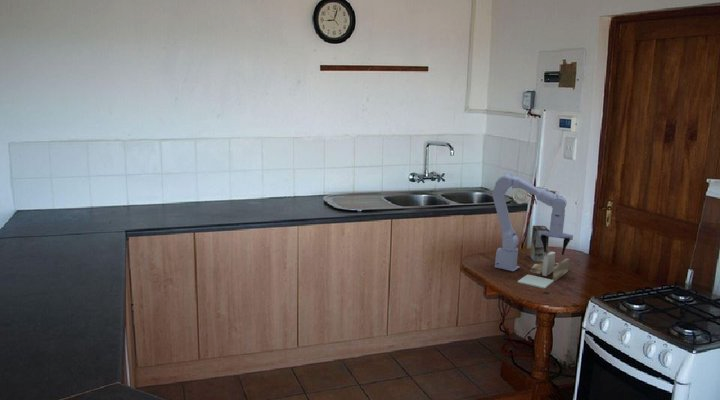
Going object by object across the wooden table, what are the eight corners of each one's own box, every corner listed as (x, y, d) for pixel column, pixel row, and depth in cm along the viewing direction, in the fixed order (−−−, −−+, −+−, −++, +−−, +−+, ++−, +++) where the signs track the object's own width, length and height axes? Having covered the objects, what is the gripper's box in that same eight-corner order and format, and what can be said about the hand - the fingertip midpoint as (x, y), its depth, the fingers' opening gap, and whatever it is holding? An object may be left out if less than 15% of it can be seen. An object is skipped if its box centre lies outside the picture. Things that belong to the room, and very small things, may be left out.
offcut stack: (529, 272, 278) (529, 267, 277) (535, 268, 284) (535, 263, 284) (539, 274, 275) (540, 269, 274) (545, 270, 282) (545, 265, 281)
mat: (517, 282, 262) (517, 281, 262) (527, 275, 272) (527, 274, 272) (544, 288, 256) (544, 287, 256) (553, 281, 265) (553, 280, 265)
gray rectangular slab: (542, 275, 273) (543, 256, 271) (549, 270, 281) (551, 251, 279) (546, 276, 272) (548, 257, 270) (553, 270, 280) (555, 252, 278)
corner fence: (523, 274, 274) (525, 261, 273) (538, 264, 289) (539, 252, 288) (555, 281, 266) (557, 268, 265) (568, 270, 281) (570, 258, 280)
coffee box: (547, 262, 293) (550, 230, 289) (533, 261, 293) (536, 229, 290) (542, 256, 302) (545, 225, 298) (529, 256, 302) (532, 225, 299)
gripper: (539, 223, 269) (536, 252, 272) (573, 227, 263) (570, 257, 266) (541, 220, 275) (538, 248, 278) (574, 224, 270) (571, 253, 273)
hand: (553, 253), depth 273 cm, fingers open, 7 cm apart
